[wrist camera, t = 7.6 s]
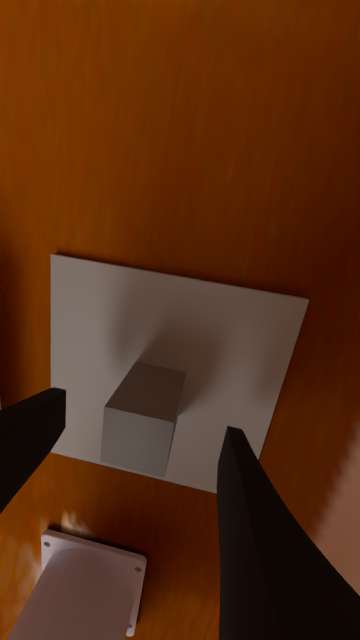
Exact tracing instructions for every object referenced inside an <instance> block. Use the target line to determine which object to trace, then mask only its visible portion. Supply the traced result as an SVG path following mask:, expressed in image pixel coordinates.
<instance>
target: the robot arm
mask: <svg viewBox="0 0 360 640" xmlns="http://www.w3.org/2000/svg"><path fill="white" fill-rule="evenodd" d="M65 428H66V390H65V389H60V388H56V387H52V388H50V389H47V390H45V391H43V392H40V393H38V394H36V395H34V396H31V397H29V398H27V399H25V400H23V401H20V402H18V403H16V404H14V405H11V406H9V407H7V408H4V409H2V410H0V514H1V512H2V511H3V510H4V508H5V507H6V506H7V504H8V503H9V502H10V501H11V499H12V498H13V497H14V496H15V494H16V493H17V492H18V491H19V489H20V488H21V487H22V486H23V484H24V483H25V482H26V481H27V480H28V478H29V477H30V476H31V475H32V473H33V472H34V471H35V470H36V469H37V467H38V466H39V465H40V464H41V462H42V461H43V460H44V459H45V457H46V456H47V455H48V454H49V452H50V451H51V450H52V448H53V447H54V445H55V444H56V442H57V441H58V439H59V438H60V436H61V434H62V433H63V431H64V429H65ZM217 508H218V526H219V543H220V568H221V575H220V620H219V640H360V596H359V595H358V594H357V593H356V592H355V590H354V589H353V588H352V587H351V586H350V585H349V584H348V583H347V582H346V581H345V580H344V578H343V577H342V576H341V575H340V574H339V573H338V572H337V571H336V569H335V568H334V567H333V566H332V565H331V564H330V563H329V561H328V560H327V559H326V558H325V556H324V555H323V554H322V553H321V551H320V550H319V549H318V548H317V547H316V545H315V544H314V543H313V542H312V541H311V539H310V538H309V537H308V535H307V534H306V533H305V532H304V530H303V529H302V528H301V526H300V525H299V524H298V522H297V521H296V519H295V518H294V517H293V515H292V514H291V513H290V511H289V510H288V508H287V507H286V505H285V504H284V502H283V501H282V499H281V498H280V496H279V495H278V493H277V491H276V490H275V488H274V487H273V485H272V483H271V482H270V480H269V478H268V477H267V475H266V473H265V471H264V470H263V468H262V466H261V464H260V463H259V461H258V459H257V457H256V455H255V453H254V451H253V449H252V448H251V446H250V444H249V442H248V439H247V437H246V435H245V433H244V431H243V430H242V429H240V428H235V427H231V426H227V429H226V433H225V437H224V441H223V445H222V449H221V453H220V457H219V461H218V468H217ZM41 552H42V574H41V576H40V578H39V580H38V582H37V584H36V586H35V587H34V589H33V591H32V593H31V595H30V597H29V599H28V601H27V603H26V604H25V606H24V608H23V610H22V612H21V614H20V616H19V618H18V619H17V621H16V623H15V625H14V627H13V629H12V631H11V633H10V635H9V636H8V638H7V640H125V638H126V636H133V635H134V632H135V627H136V621H137V616H138V610H139V604H140V598H141V592H142V586H143V581H144V575H145V569H146V563H147V559H146V558H145V557H144V556H143V555H141V554H137V553H133V552H130V551H126V550H122V549H119V548H115V547H111V546H108V545H104V544H101V543H97V542H93V541H90V540H86V539H82V538H79V537H75V536H71V535H68V534H64V533H61V532H57V531H53V530H49V529H48V530H45V531H44V532H43V534H42V536H41Z"/></svg>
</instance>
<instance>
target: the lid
mask: <svg viewBox="0 0 360 640" xmlns="http://www.w3.org/2000/svg"><path fill="white" fill-rule="evenodd" d="M308 302H309V299H307V298H303V297H297V296H291V295H285V294H280V293H274V292H268V291H263V290H257V289H251V288H246V287H240V286H234V285H229V284H223V283H217V282H212V281H206V280H200V279H195V278H189V277H183V276H177V275H172V274H166V273H160V272H155V271H149V270H143V269H138V268H132V267H126V266H121V265H115V264H109V263H104V262H98V261H92V260H87V259H81V258H75V257H69V256H64V255H58V254H51V388H52V387H56V388H60V389H65V390H66V428H65V429H64V431H63V433H62V434H61V436H60V438H59V439H58V441H57V442H56V444H55V445H54V447H53V448H52V450H51V452H52V453H56V454H60V455H64V456H68V457H72V458H76V459H80V460H84V461H88V462H92V463H96V464H100V465H104V466H108V467H112V468H116V469H120V470H124V471H128V472H132V473H136V474H140V475H144V476H148V477H152V478H156V479H160V480H164V481H168V482H172V483H176V484H180V485H184V486H188V487H192V488H196V489H200V490H204V491H208V492H212V493H216V494H217V468H218V461H219V457H220V453H221V449H222V445H223V441H224V437H225V433H226V429H227V426H231V427H235V428H240V429H242V430H243V431H244V433H245V435H246V437H247V439H248V442H249V444H250V446H251V448H252V449H253V451H254V453H255V455H256V457H257V459H259V456H260V453H261V450H262V447H263V444H264V440H265V437H266V434H267V431H268V428H269V425H270V422H271V418H272V415H273V412H274V409H275V406H276V403H277V400H278V396H279V393H280V390H281V387H282V384H283V381H284V378H285V375H286V371H287V368H288V365H289V362H290V359H291V356H292V353H293V349H294V346H295V343H296V340H297V337H298V334H299V331H300V328H301V324H302V321H303V318H304V315H305V312H306V309H307V306H308Z"/></svg>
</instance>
